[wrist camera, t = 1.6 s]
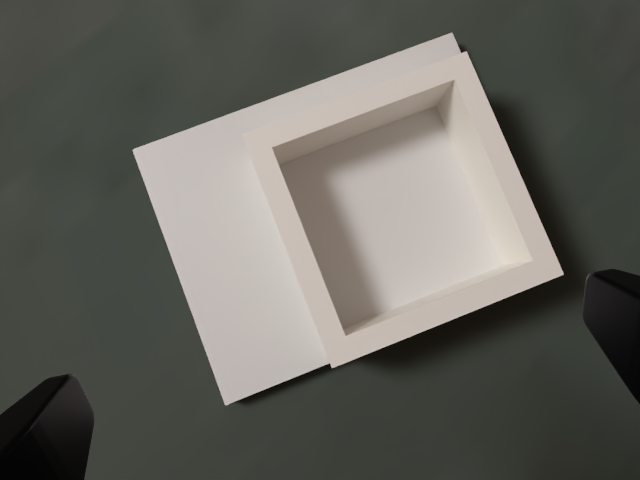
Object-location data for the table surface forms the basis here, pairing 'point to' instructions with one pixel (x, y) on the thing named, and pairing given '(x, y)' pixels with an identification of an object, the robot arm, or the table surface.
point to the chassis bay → (344, 216)
